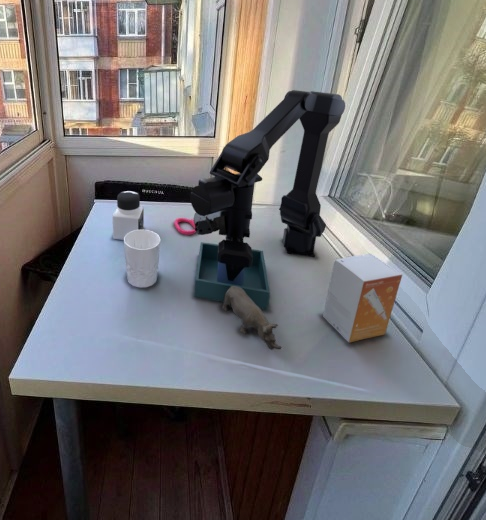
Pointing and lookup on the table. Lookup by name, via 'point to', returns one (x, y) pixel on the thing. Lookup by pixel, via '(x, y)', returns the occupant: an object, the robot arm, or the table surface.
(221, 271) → the bottle
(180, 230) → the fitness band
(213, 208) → the robot arm
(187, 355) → the table surface
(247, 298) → the rhino figurine
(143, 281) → the white cup
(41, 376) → the table surface
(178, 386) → the table surface
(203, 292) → the tray
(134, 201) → the medicine bottle
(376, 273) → the small box
